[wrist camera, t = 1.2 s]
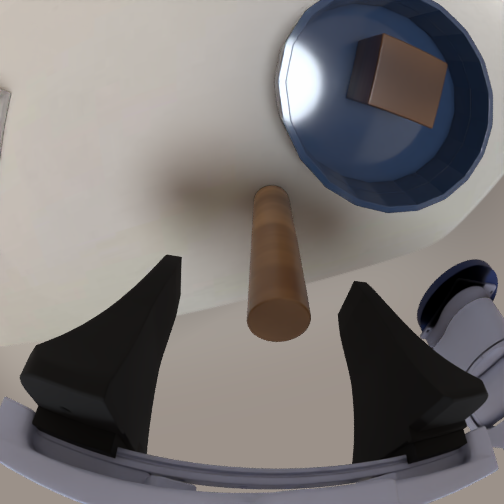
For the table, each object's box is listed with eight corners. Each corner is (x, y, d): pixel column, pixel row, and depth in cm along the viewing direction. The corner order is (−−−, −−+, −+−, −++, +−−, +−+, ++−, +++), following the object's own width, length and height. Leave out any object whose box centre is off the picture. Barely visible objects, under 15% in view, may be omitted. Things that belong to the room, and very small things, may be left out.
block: (401, 117, 16) (432, 129, 12) (345, 98, 15) (367, 104, 12) (415, 62, 14) (448, 63, 10) (358, 40, 13) (383, 32, 10)
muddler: (285, 219, 21) (301, 345, 12) (251, 214, 21) (242, 338, 11) (292, 188, 19) (319, 303, 10) (257, 182, 19) (252, 294, 10)
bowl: (424, 201, 19) (453, 231, 16) (257, 161, 19) (256, 186, 15) (467, 48, 12) (507, 50, 9) (294, -22, 12) (303, -48, 8)
